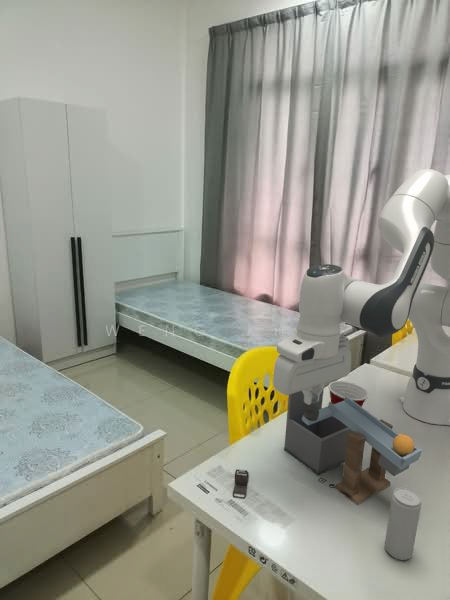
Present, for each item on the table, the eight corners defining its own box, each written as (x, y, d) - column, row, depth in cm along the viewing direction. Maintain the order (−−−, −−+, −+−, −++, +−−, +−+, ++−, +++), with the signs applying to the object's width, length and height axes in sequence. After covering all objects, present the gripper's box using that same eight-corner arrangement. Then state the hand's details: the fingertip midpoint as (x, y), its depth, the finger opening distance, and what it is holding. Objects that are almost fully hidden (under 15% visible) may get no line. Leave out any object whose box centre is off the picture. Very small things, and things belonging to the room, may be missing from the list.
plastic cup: (366, 440, 113) (371, 400, 110) (324, 435, 115) (329, 395, 112) (361, 420, 124) (366, 382, 121) (323, 415, 126) (327, 377, 123)
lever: (339, 412, 103) (345, 393, 101) (414, 470, 88) (422, 449, 86) (297, 428, 95) (302, 408, 93) (371, 496, 80) (379, 473, 78)
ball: (397, 443, 89) (403, 427, 87) (414, 455, 86) (420, 440, 84) (386, 448, 87) (391, 433, 85) (402, 462, 84) (409, 446, 82)
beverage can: (389, 536, 82) (398, 483, 79) (415, 550, 79) (425, 495, 76) (380, 552, 78) (389, 496, 75) (407, 566, 76) (417, 510, 72)
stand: (367, 470, 101) (375, 416, 98) (389, 485, 96) (398, 428, 93) (335, 488, 95) (342, 430, 91) (357, 504, 90) (365, 444, 86)
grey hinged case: (236, 473, 99) (237, 457, 98) (249, 475, 99) (250, 459, 98) (231, 498, 91) (232, 481, 90) (245, 500, 91) (246, 483, 90)
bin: (316, 436, 115) (321, 382, 110) (350, 459, 105) (358, 400, 101) (284, 450, 108) (288, 392, 104) (317, 475, 99) (324, 413, 95)
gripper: (338, 330, 97) (332, 385, 101) (270, 346, 86) (266, 407, 90) (361, 338, 92) (354, 396, 96) (292, 356, 81) (286, 421, 84)
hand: (311, 402), depth 93 cm, fingers closed
